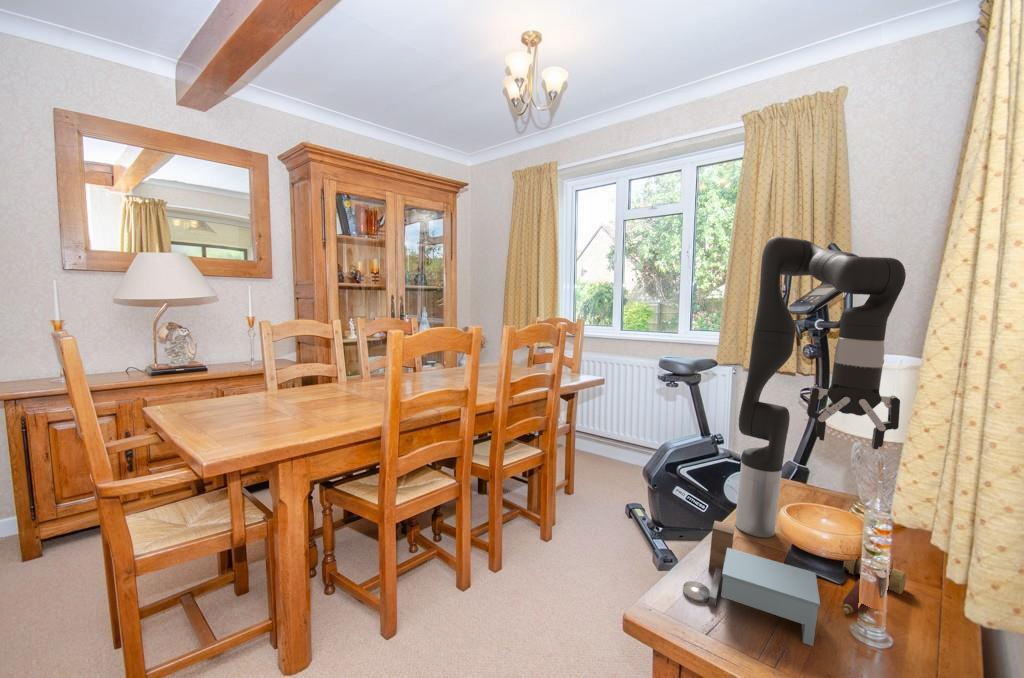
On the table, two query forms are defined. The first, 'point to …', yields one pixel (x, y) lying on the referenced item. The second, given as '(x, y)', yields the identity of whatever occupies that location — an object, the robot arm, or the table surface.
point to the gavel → (852, 599)
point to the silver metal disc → (696, 591)
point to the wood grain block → (719, 555)
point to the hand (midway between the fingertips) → (847, 443)
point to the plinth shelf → (772, 589)
